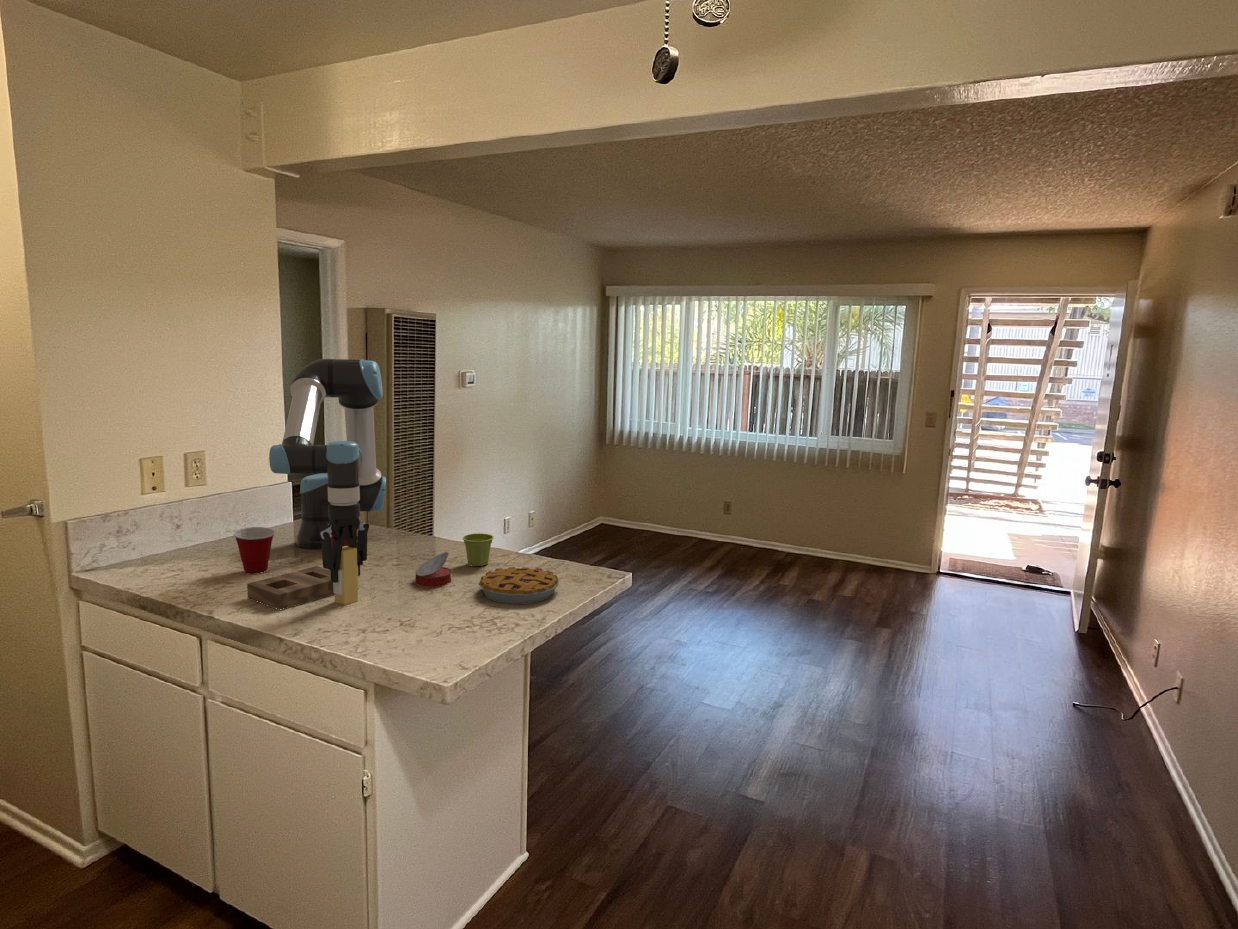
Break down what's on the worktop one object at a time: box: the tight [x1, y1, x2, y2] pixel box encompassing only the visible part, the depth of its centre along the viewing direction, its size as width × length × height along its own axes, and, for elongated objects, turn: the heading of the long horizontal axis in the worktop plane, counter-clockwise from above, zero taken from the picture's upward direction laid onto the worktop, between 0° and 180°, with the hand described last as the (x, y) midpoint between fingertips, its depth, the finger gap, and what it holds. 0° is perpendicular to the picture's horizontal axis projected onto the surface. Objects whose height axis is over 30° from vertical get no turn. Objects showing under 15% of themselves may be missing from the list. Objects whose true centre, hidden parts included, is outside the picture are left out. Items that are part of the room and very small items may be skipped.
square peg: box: [334, 546, 359, 606], centre depth 182 cm, size 4×4×14 cm
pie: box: [478, 566, 560, 604], centre depth 194 cm, size 22×22×5 cm
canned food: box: [415, 551, 452, 588], centre depth 200 cm, size 11×10×10 cm
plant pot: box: [462, 532, 495, 567], centre depth 218 cm, size 9×9×9 cm
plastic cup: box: [232, 526, 276, 575], centre depth 204 cm, size 11×11×12 cm
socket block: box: [246, 565, 335, 611], centre depth 187 cm, size 20×14×4 cm
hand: (346, 591), depth 182 cm, fingers closed on square peg, 4 cm apart
